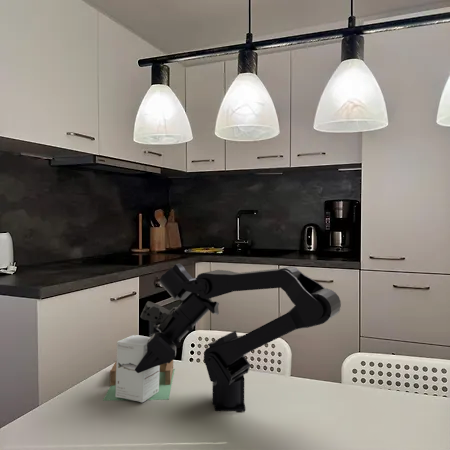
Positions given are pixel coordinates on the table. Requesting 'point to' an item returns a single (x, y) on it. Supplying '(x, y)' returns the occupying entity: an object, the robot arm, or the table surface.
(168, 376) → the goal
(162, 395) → the pitch mat
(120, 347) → the supplement box
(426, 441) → the table surface
